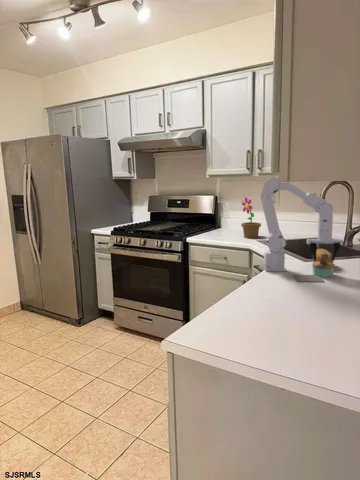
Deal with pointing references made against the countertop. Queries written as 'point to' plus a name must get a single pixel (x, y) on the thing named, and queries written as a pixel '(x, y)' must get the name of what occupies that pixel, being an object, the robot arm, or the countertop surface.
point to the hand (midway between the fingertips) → (323, 259)
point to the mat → (308, 278)
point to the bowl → (323, 272)
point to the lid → (323, 262)
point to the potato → (323, 252)
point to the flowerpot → (250, 223)
